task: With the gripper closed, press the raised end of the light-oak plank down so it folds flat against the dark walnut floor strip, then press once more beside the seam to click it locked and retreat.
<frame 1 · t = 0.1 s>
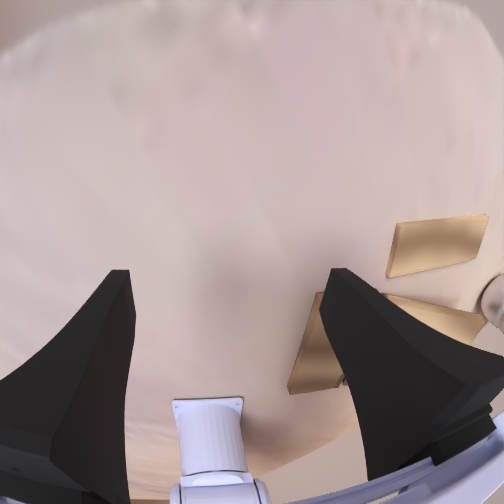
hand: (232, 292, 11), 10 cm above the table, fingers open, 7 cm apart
oak plank: (411, 354, 29), point 3 cm above the table, hinge at 25.0°
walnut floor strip: (328, 344, 30), on the table
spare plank: (437, 238, 26), on the table
plastic bottle: (490, 287, 32), on the table
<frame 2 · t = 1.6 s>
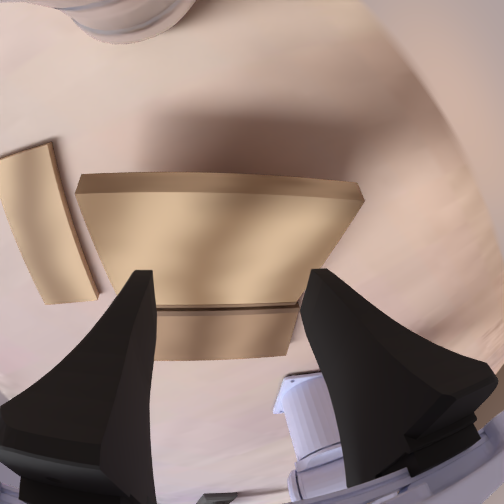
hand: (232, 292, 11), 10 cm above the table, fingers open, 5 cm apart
oak plank: (214, 257, 18), point 3 cm above the table, hinge at 25.0°
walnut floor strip: (207, 327, 25), on the table
faucet: (227, 498, 65), on the table
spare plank: (47, 228, 19), on the table
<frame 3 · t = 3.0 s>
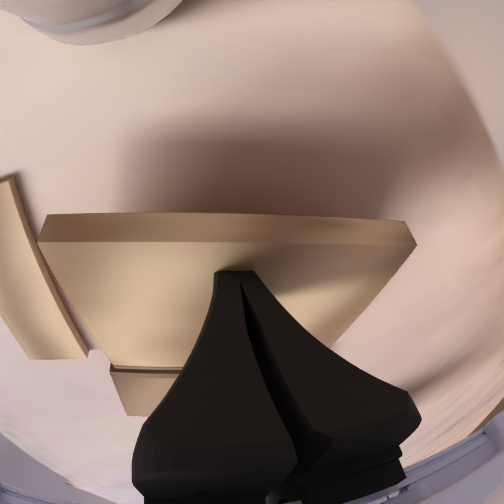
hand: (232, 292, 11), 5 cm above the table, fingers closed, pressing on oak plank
oak plank: (224, 317, 14), point 3 cm above the table, hinge at 19.9°, touching gripper
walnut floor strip: (215, 383, 21), on the table
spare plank: (22, 277, 15), on the table
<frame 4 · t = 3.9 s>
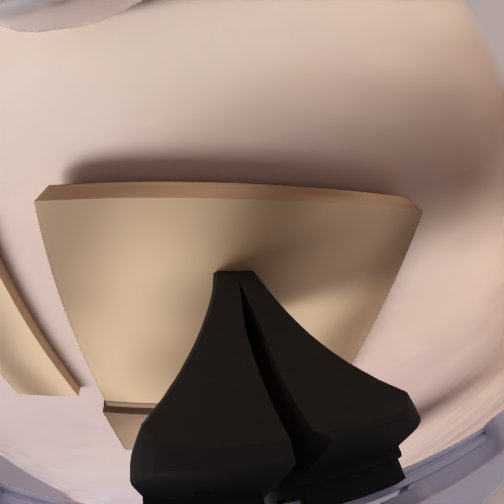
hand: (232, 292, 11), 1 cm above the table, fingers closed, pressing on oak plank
oak plank: (229, 327, 13), point 1 cm above the table, hinge at 2.5°, touching gripper
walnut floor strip: (219, 418, 19), on the table
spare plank: (0, 310, 12), on the table
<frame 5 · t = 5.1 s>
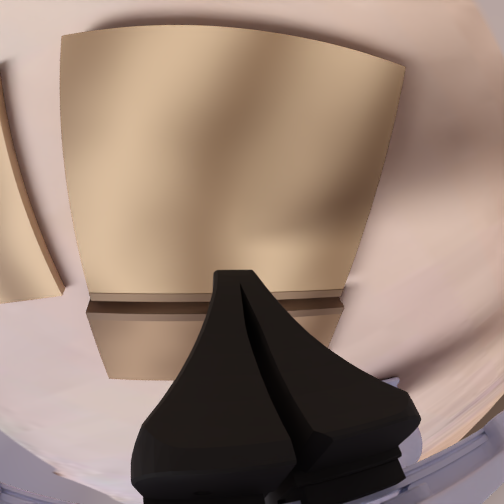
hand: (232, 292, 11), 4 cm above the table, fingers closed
oak plank: (227, 179, 12), point 1 cm above the table, hinge at 2.5°
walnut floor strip: (215, 335, 18), on the table
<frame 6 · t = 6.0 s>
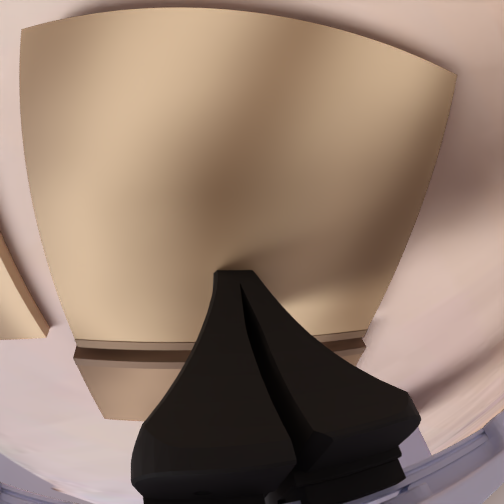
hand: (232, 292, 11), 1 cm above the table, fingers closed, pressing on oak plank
oak plank: (237, 212, 10), point 1 cm above the table, hinge at 2.5°, touching gripper
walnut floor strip: (220, 376, 16), on the table
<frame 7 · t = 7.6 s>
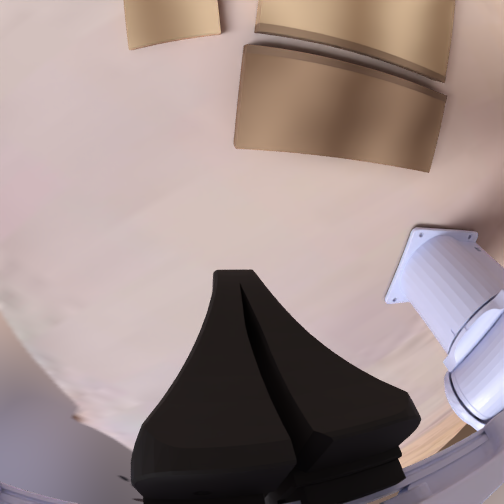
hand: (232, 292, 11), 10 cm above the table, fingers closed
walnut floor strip: (349, 110, 18), on the table
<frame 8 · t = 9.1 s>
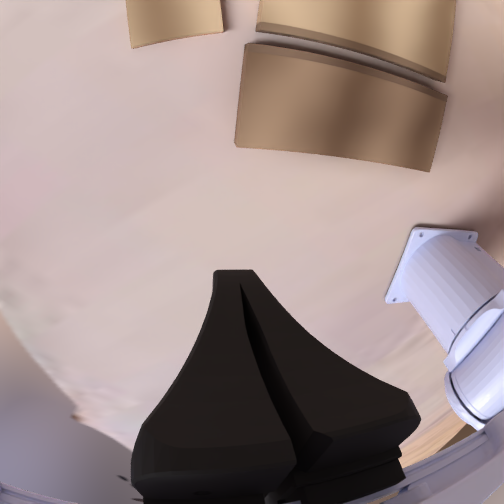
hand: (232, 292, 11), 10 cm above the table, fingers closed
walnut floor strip: (349, 109, 18), on the table
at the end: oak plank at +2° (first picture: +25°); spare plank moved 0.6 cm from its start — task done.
